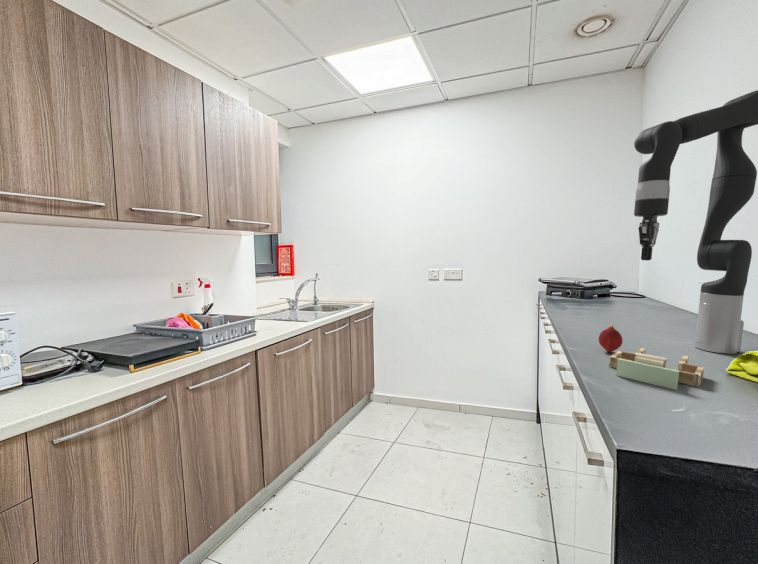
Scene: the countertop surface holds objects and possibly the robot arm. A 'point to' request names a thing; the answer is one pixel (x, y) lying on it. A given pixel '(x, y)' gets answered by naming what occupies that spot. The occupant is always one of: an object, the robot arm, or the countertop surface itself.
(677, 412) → the countertop surface
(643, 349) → the channel
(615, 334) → the onion
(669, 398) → the countertop surface
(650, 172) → the robot arm
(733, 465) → the countertop surface
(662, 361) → the block
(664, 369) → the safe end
